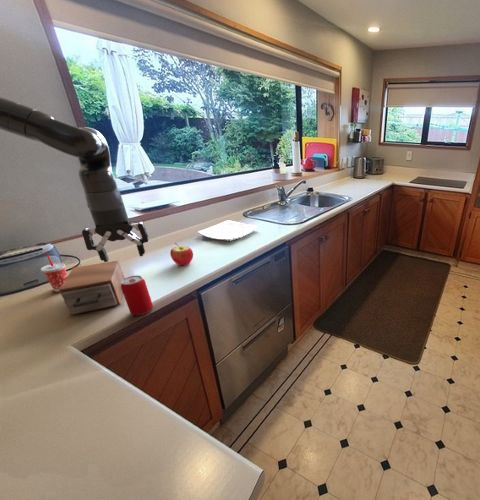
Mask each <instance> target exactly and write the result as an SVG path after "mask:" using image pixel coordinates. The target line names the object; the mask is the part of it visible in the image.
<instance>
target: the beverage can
mask: <svg viewBox="0 0 480 500" xmlns="http://www.w3.org/2000/svg"><path fill="white" fill-rule="evenodd" d="M124 278H125V279H124V280H122V282H121V283H122V284H121V289H122V292H123V297H124V299H125V302H126V306H127V308H128V311H129V313H130V314H131V315H132V316H133V315H134V316H142V315H145V314H147V313H149V312H150V311H151V310H152V309H153V307H154V305H153V302H152V298H151V295H150V291H149V288H148V286H147V283H146V280H145V279H144V278H143V277H142V276H141V275H131V276H128V277H124Z"/></svg>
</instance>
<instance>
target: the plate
mask: <svg viewBox="0 0 480 500" xmlns="http://www.w3.org/2000/svg"><path fill="white" fill-rule="evenodd" d="M258 228H259V225H257V224H250V223H244V222H239V221H235V220H231V219H227V220H224V221H222V222H219V223H218V224H215V225H212V226H209V227H207V228H205V229H201V230H198V231H197V234H200V235H201V236H204V237H206V238H209V239H212V240H218V241H227V242H228V241H230V242H231V241H234V240H238V239H241V238H244V237H245V236H247V235H249V234H251V233H253V232H254V231H255V230H257V229H258Z"/></svg>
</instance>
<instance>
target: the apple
mask: <svg viewBox="0 0 480 500" xmlns="http://www.w3.org/2000/svg"><path fill="white" fill-rule="evenodd" d="M174 245H176V246H175V247H172V248H171V249H170V252H169V254H170V258H171V260H172V261H173V262H174V263H175V264H176V265H179V266H185V265H188V264H190V263H191V262H192V260H193V259H194V251H193V250H192V248H191V247H189V246H186V245H178V243H176V242H174Z"/></svg>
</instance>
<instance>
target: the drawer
mask: <svg viewBox="0 0 480 500" xmlns="http://www.w3.org/2000/svg"><path fill="white" fill-rule="evenodd" d="M62 295H63V297H62V299H63V298H64V299H63V301H64V300H65V301H64V303H65V302H66V303H65V305H66V304H67V305H66V307H67V306H68V307H67V309H68V308H69V309H68V311H69V310H70V312H71V314H74V315H77V314H76V313H78V314H81V313H80V312H83V313H86V312H85V311H88V312H91V311H90V310H92V311H95V310H94V309H97V310H100V309H99V308H102V309H105V308H104V307H106V308H109V307H108V306H111V307H114V306H113V305H116V306H118V305H117V301H116V299H115V296H114V293H113V291H112V288H111V285H110V283H106V284H100V285H95V286H89V287H84V288H78V289H73V290H68V291H65V292H63V293H62ZM62 295H61V296H62ZM70 312H69V313H70ZM71 314H70V315H71Z"/></svg>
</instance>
